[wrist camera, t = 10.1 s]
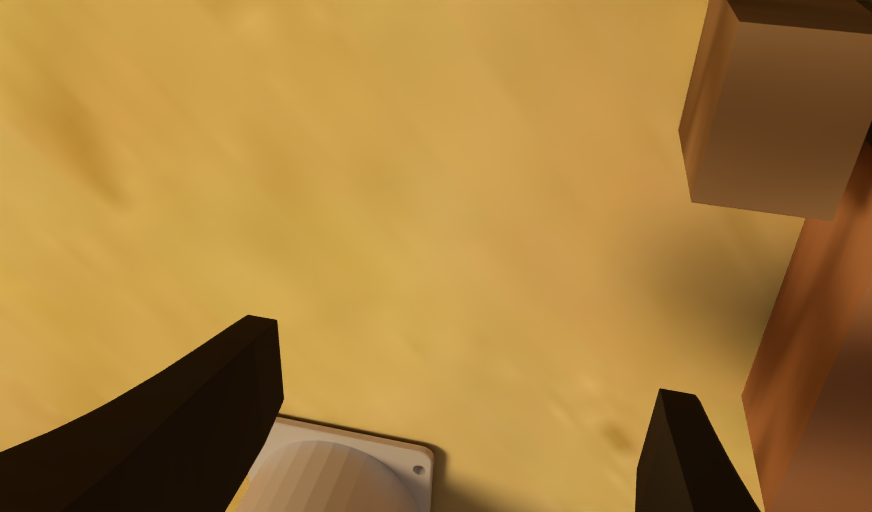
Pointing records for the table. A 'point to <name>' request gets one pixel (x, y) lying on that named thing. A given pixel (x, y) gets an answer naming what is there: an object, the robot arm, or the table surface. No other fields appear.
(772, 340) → the brown boxy piece
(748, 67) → the board
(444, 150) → the table surface
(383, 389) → the table surface
